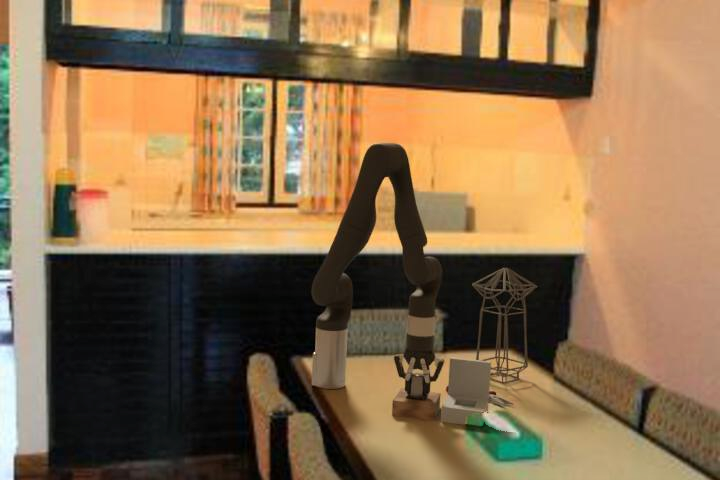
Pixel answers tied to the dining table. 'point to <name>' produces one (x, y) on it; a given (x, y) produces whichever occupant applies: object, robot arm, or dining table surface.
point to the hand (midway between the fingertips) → (417, 394)
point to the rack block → (466, 389)
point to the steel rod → (417, 386)
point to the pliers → (495, 399)
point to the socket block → (416, 405)
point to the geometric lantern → (493, 285)
